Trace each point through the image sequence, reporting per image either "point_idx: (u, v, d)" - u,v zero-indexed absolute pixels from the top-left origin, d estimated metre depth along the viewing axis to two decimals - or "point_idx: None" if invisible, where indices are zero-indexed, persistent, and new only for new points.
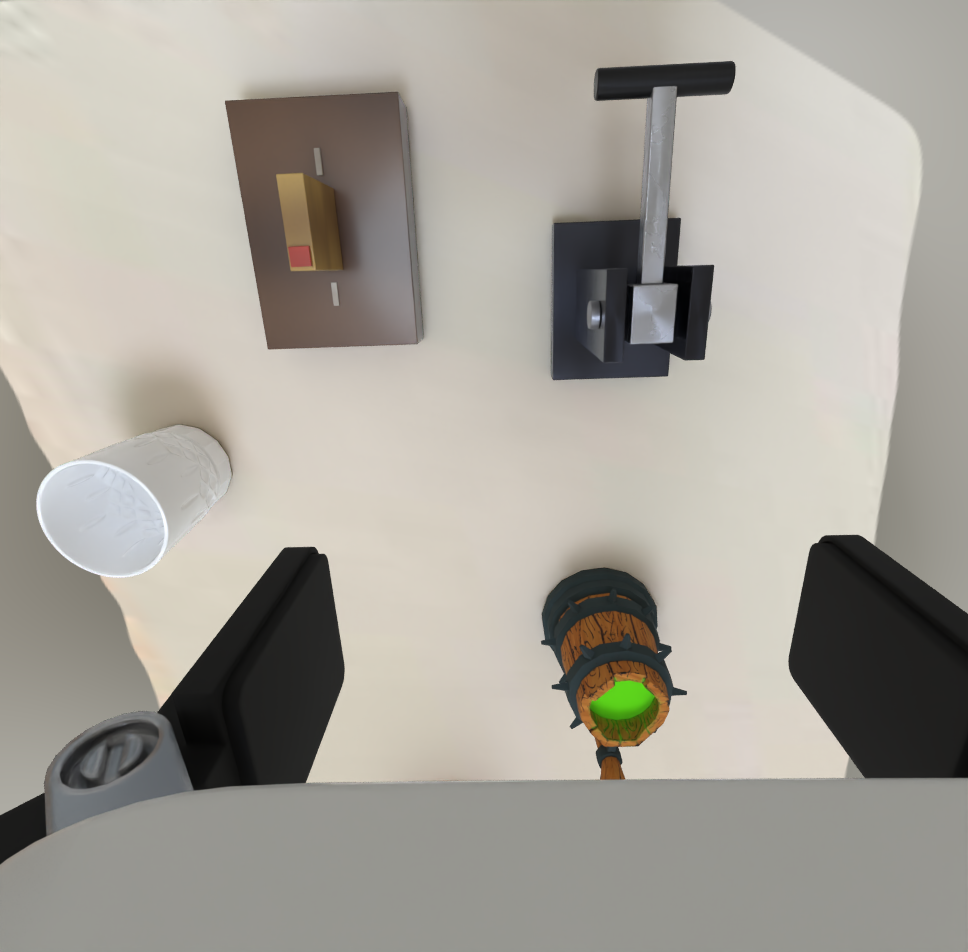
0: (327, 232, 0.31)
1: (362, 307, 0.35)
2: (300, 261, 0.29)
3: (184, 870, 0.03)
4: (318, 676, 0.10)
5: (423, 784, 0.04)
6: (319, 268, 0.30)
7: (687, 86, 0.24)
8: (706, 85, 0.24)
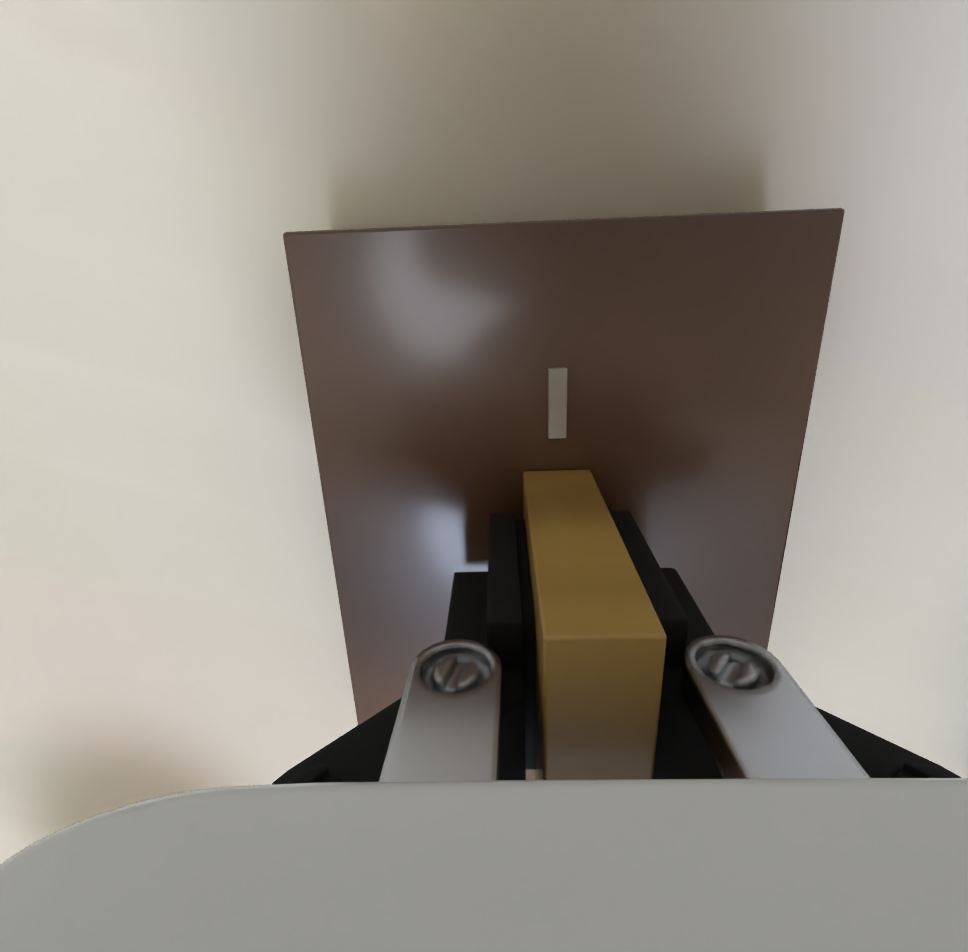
0: None
1: None
2: None
3: (184, 870, 0.03)
4: None
5: (423, 784, 0.04)
6: None
7: None
8: None
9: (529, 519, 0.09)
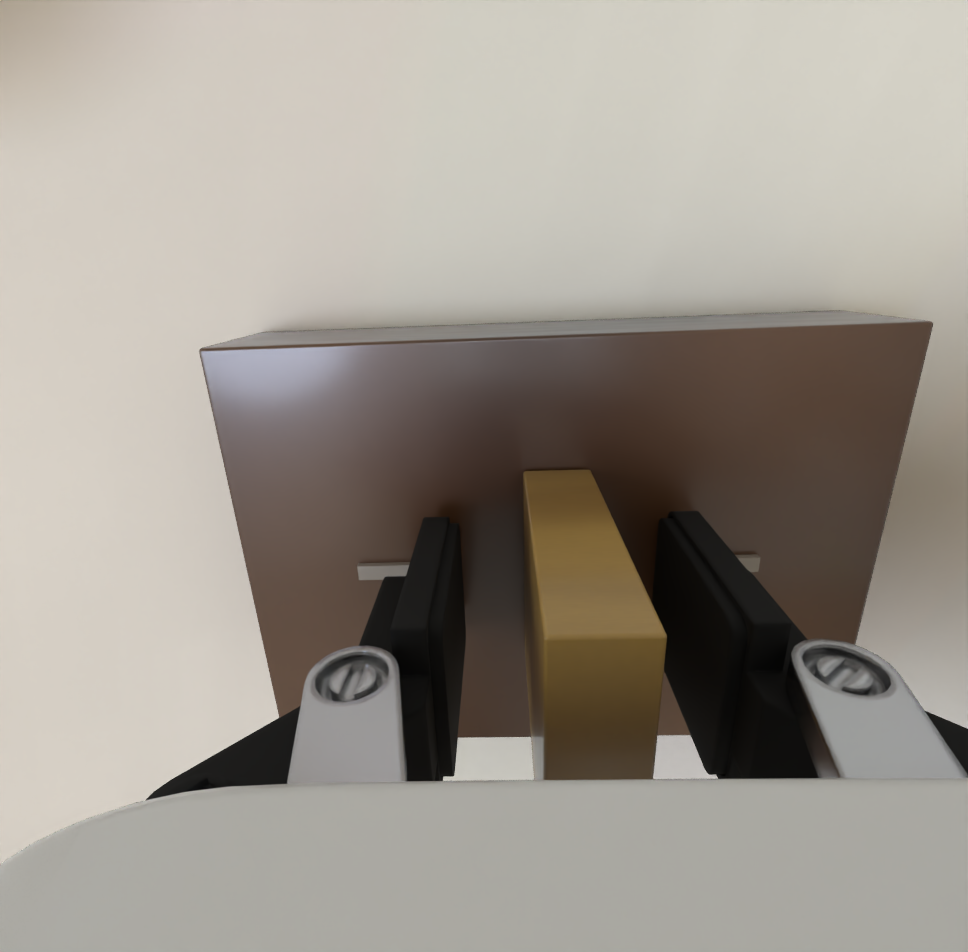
0: None
1: (359, 629, 0.13)
2: None
3: (184, 870, 0.03)
4: (459, 632, 0.11)
5: (423, 784, 0.04)
6: None
7: None
8: None
9: (529, 519, 0.09)
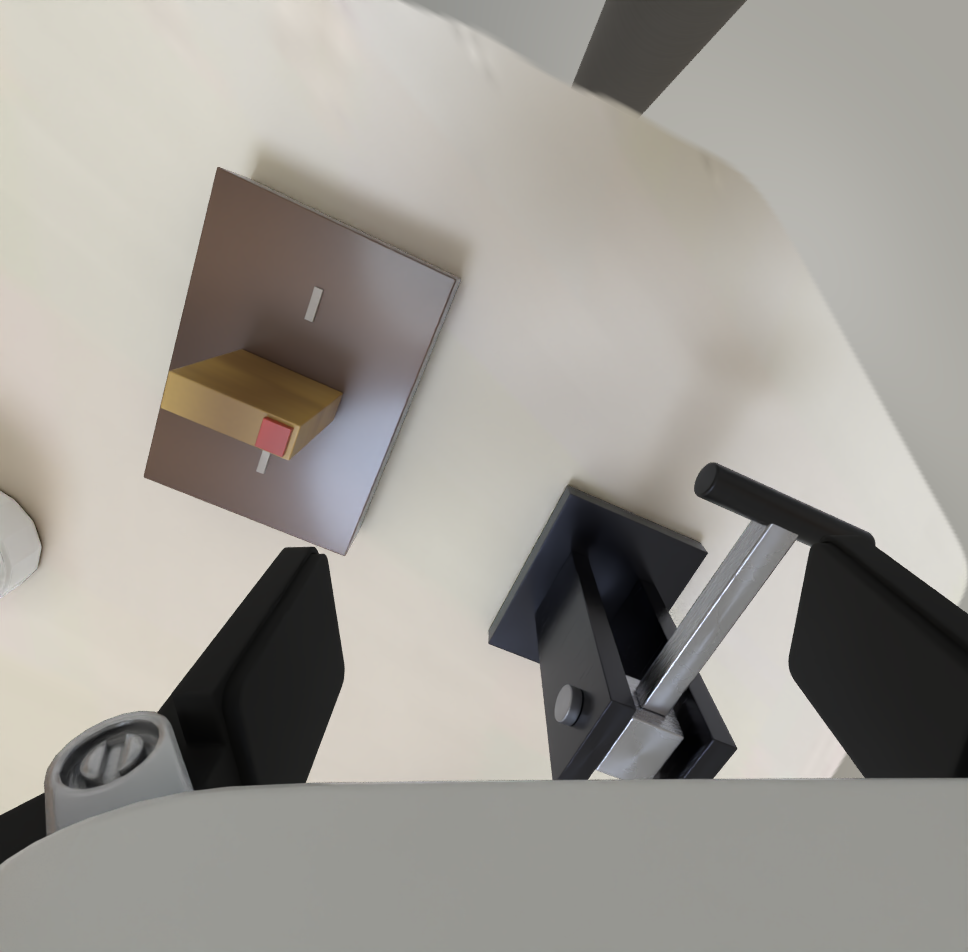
0: (277, 384, 0.21)
1: (293, 488, 0.25)
2: (279, 440, 0.19)
3: (184, 870, 0.03)
4: (318, 676, 0.10)
5: (423, 784, 0.04)
6: (304, 420, 0.19)
7: (810, 541, 0.18)
8: None
9: None
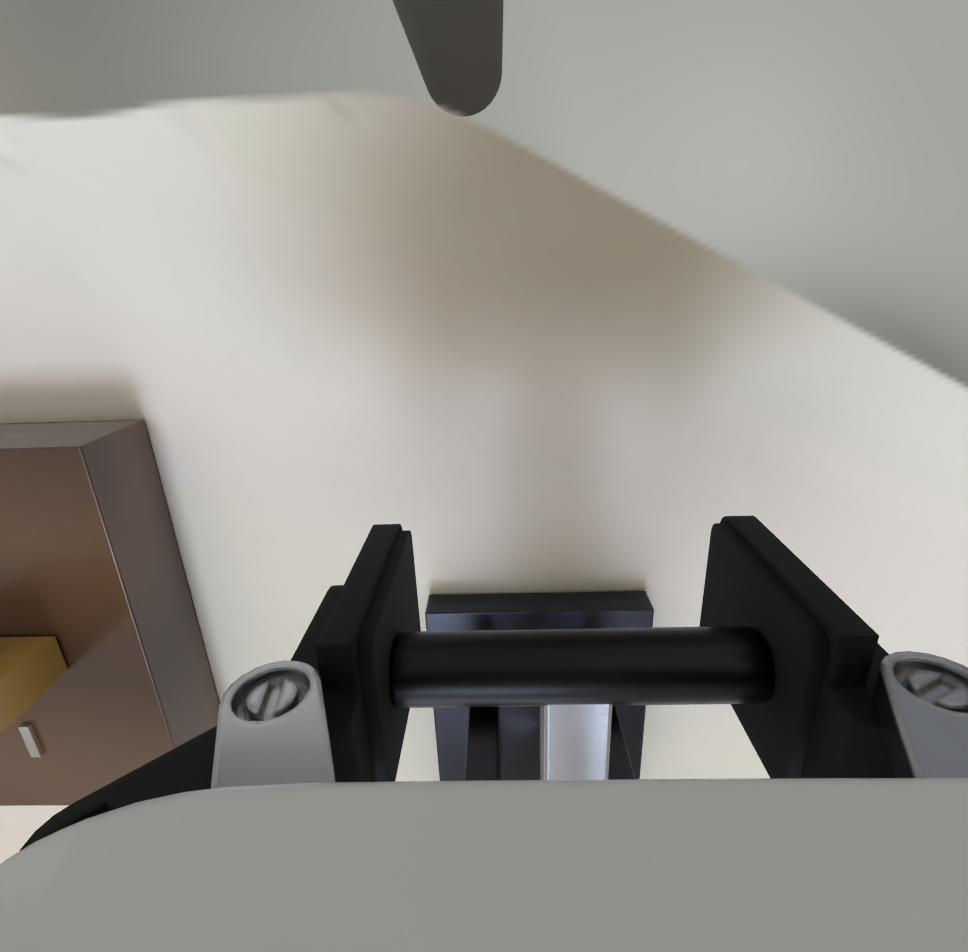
0: None
1: (84, 757, 0.20)
2: None
3: (184, 871, 0.03)
4: None
5: (423, 784, 0.04)
6: None
7: (640, 704, 0.09)
8: (692, 703, 0.09)
9: None
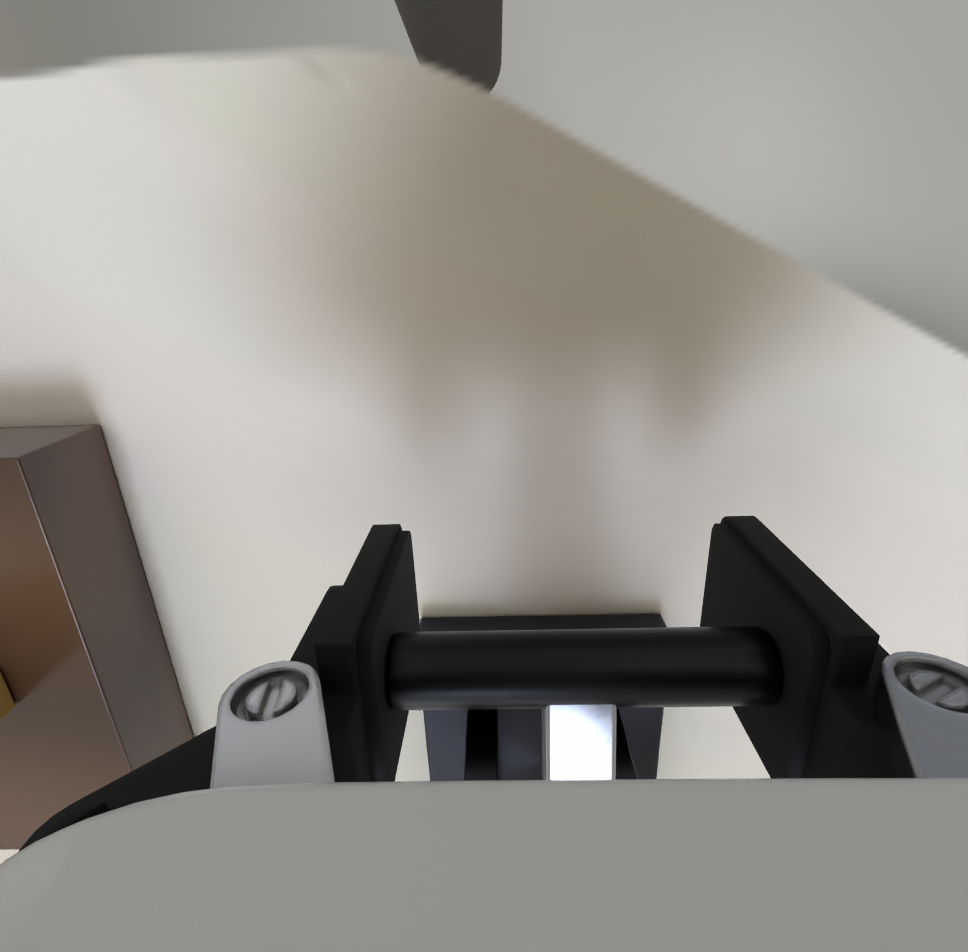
0: None
1: (39, 798, 0.18)
2: None
3: (184, 870, 0.03)
4: None
5: (423, 784, 0.04)
6: None
7: (645, 705, 0.08)
8: (700, 704, 0.08)
9: None
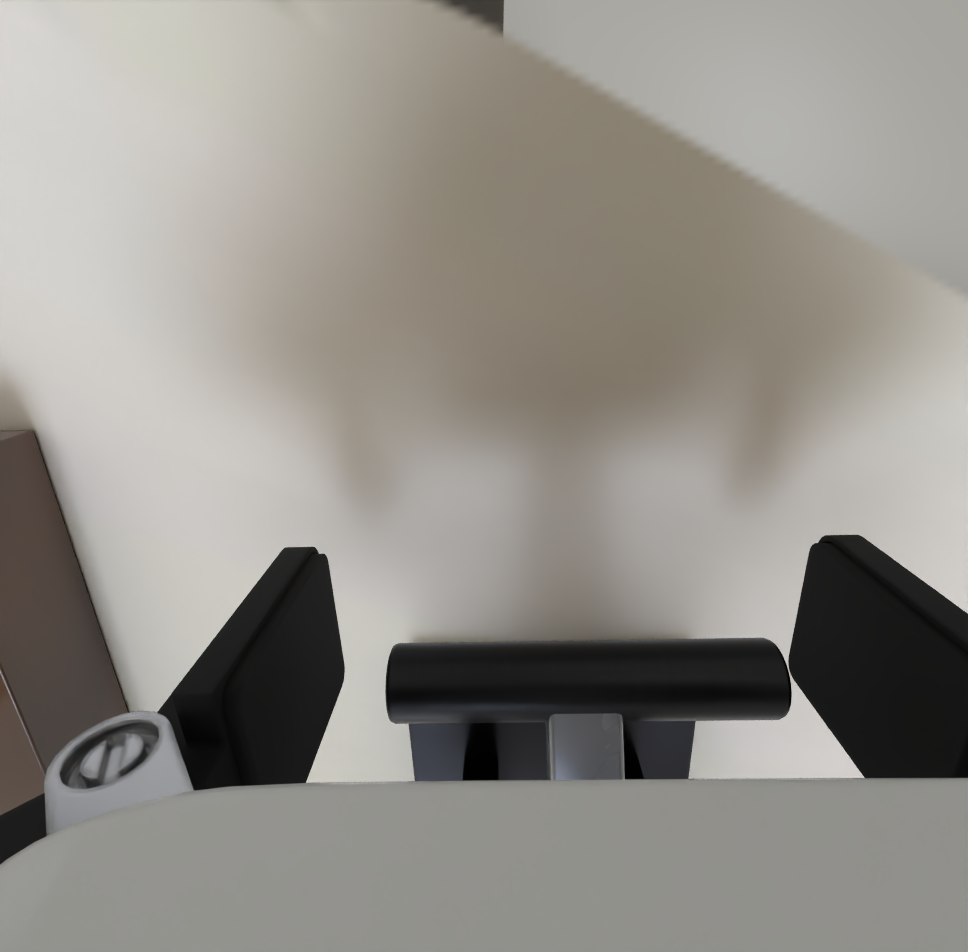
0: None
1: None
2: None
3: (184, 870, 0.03)
4: (318, 676, 0.10)
5: (423, 784, 0.04)
6: None
7: (652, 714, 0.08)
8: (708, 713, 0.08)
9: None
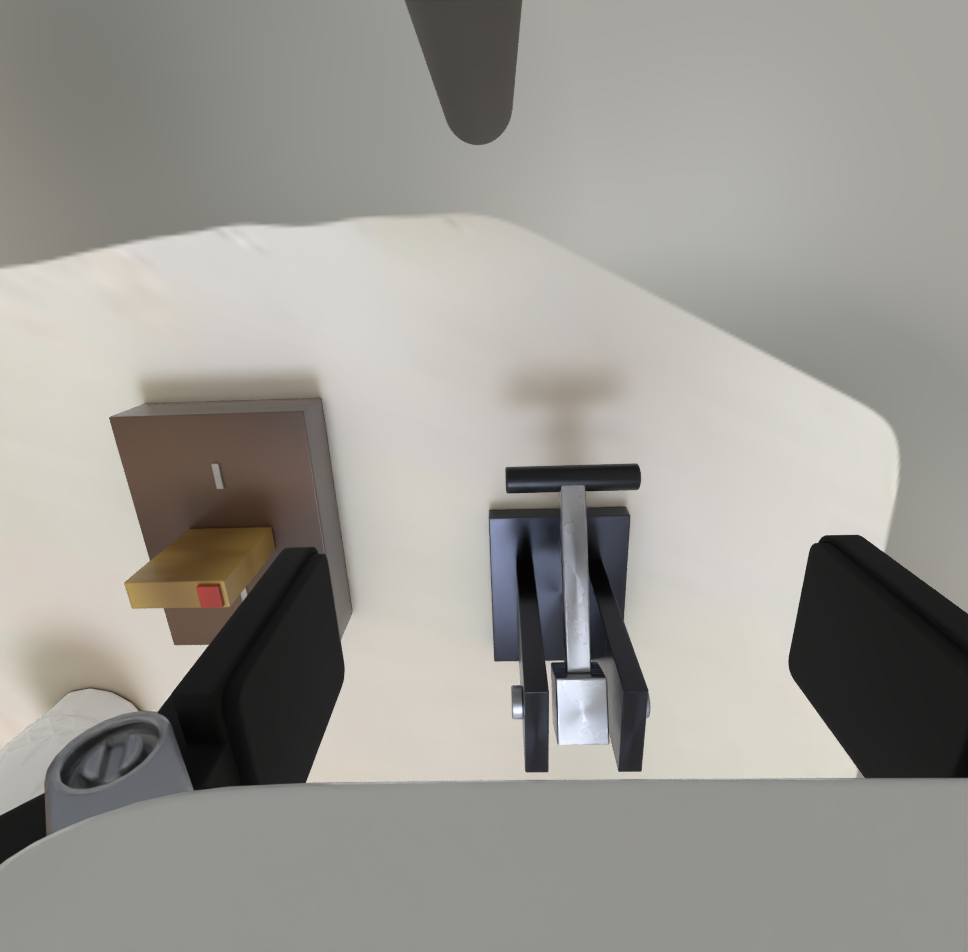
0: (212, 549, 0.27)
1: None
2: (215, 597, 0.24)
3: (184, 870, 0.03)
4: (318, 676, 0.10)
5: (423, 784, 0.04)
6: (228, 573, 0.25)
7: (595, 485, 0.24)
8: (613, 485, 0.24)
9: None
